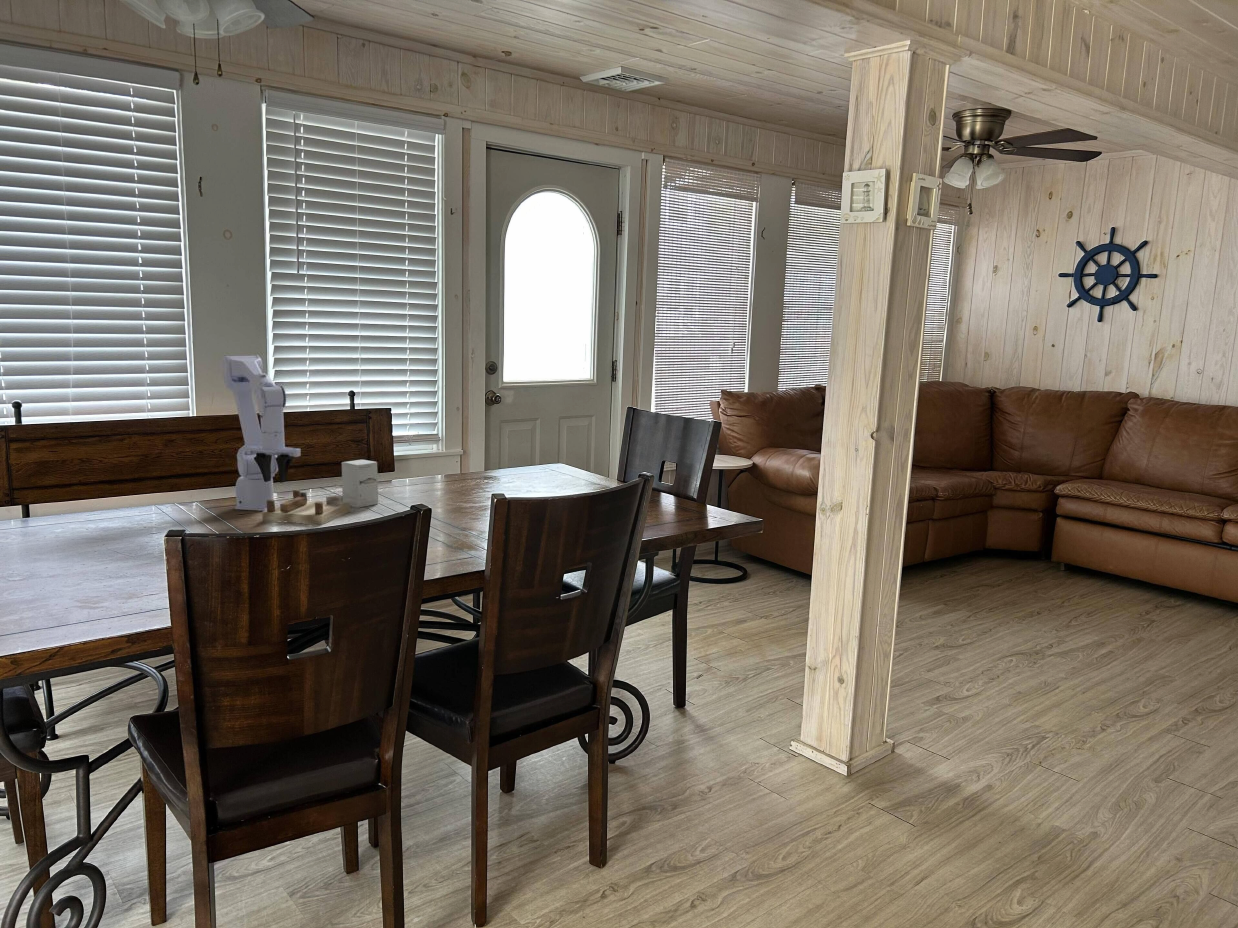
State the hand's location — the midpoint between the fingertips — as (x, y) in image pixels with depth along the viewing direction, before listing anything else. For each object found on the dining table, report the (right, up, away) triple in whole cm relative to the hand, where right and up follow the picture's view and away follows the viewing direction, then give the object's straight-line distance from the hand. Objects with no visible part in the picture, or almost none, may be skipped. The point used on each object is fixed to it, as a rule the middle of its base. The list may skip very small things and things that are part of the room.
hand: (275, 481), depth 244 cm
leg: (+5, -7, +2) cm, 9 cm away
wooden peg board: (+7, -10, +4) cm, 13 cm away
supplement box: (+18, -7, +19) cm, 27 cm away
